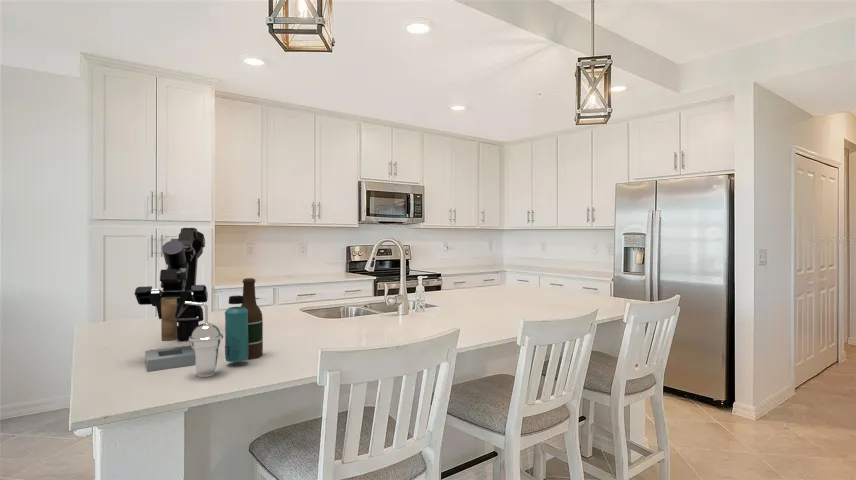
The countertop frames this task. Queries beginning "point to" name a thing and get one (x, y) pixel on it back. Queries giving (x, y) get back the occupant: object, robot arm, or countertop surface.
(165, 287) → the robot arm
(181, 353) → the socket
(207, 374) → the cup with straw
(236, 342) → the beverage bottle
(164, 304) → the peg
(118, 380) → the countertop surface
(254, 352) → the beer bottle
